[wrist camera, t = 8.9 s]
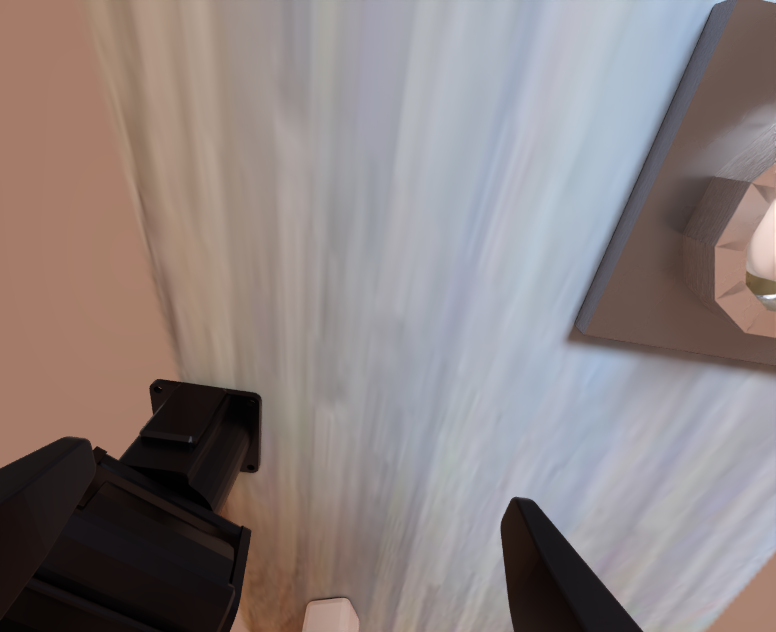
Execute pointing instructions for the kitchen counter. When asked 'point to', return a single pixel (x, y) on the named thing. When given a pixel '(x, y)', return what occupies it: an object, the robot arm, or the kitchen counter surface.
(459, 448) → the kitchen counter surface
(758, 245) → the chess piece
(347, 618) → the salt shaker
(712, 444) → the kitchen counter surface
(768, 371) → the kitchen counter surface
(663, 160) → the hub plate
